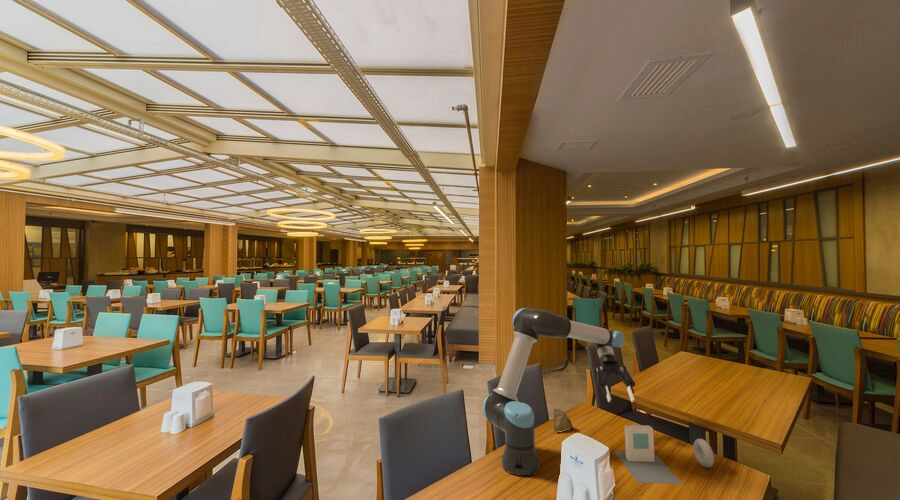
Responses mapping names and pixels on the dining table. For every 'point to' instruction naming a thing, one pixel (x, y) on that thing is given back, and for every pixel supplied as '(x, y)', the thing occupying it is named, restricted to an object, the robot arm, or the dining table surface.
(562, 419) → the rock
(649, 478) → the mat
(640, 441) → the tile
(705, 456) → the donut
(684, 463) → the dining table surface
